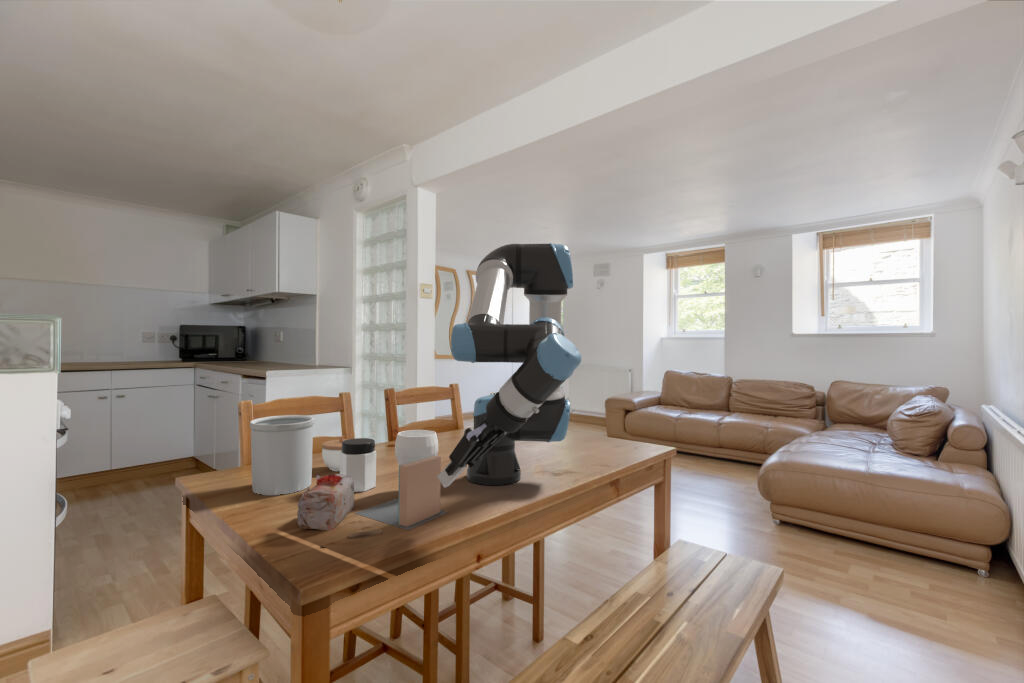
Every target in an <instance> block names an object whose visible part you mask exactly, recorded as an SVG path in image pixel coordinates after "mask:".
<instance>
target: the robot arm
mask: <svg viewBox="0 0 1024 683" xmlns="http://www.w3.org/2000/svg"><path fill="white" fill-rule="evenodd" d="M475 272H476V273H475V282H476V284H477V285H476V287H475V291H474V296H473V300H472V303H471V307H470V310H469V315H468V317H467V321H466V322H464V323H458V324H455V325H454V326H453V327H452V329H451V335H450V350H451V355H452V358H453V359H454V360H455V361H456V362H465V363H467V362H468V363H472V364H473V363H515V364H516V363H518V364H520V363H521V365H520V366H519V367H518V369H517V370H516V371H515V372H514V373H513V374H512V375H511V376H510V377H509V378H508V379H507V380H506V382H504V384H503V385H502V386H501V387H499V388H500V389H498V392H496V393H495V394H490V395H489V394H488V395H486V396H485V395H484V396H479V397H478V398H477V399H476V400H475V401H474V405H473V414H472V416H473V428H471V427H468V428H465V430H464V433H463V436H462V437H461V438H460V440H459V442H458V443H457V444H456V446H455V447H454V448H453V450H452V451H451V453H450V455H449V456H448V458H449V460H450V461H449V463H448V464H447V465H446V466H445V467H444V468H443V470H441V473H440V474H439V475H438V476H437V477H438V479H439V480H440V482H441V484H440V485H442V487H443V488H448V487H449V486H451V485H452V483H454V481H455V480H456V479H457V478H459V476H460V475H461V474H462V472H464V470H466V479H467V481H469V482H470V483H473V484H478V485H485V486H504V484H505V485H509V484H510V483H511V484H514V483H517V482H519V481H520V480H521V474H522V472H521V467H520V464H519V460H518V457H517V454H516V448H515V447H516V442H539V443H540V442H546V443H553V442H555V443H556V442H561V441H563V440H564V439H565V438H566V436H567V434H568V429H569V424H570V416H571V414H570V411H571V402H570V400H569V399H566V393H565V392H564V391H563V390H562V389H561V385H563V383H565V381H566V380H568V379H569V378H570V377H571V376H572V375H573V373H574V372H575V370H576V369H577V368H578V367H579V366H580V365H581V362H582V354H581V352H580V351H579V349H578V347H577V346H576V345H575V344H574V343H573V342H572V341H571V340H570V339H568V337H566V336H565V333H564V330H563V328H562V301H564V299H565V298H566V297H567V296H568V290H570V289H573V287H574V279H573V276H574V274H573V264H572V258H571V253H570V250H569V247H568V246H567V245H566V244H560V243H510V244H505V245H501V246H498V247H497V248H495V249H493V250H492V251H490V252H489V253H488V254H486V255H485V257H484V258H482V259H481V261H480V262H479V264H478V265H477V269H476V271H475ZM511 288H512V289H513V288H517V289H523V296H524V297H525V298H526V299H527V300H528V301H529V308H528V309H529V310H528V311H529V314H528V315H529V317H528V318H529V321H528V324H527V323H526V324H523V323H522V324H521V323H520V324H519V323H517V324H515V323H513V324H510V323H507V324H506V323H505V324H504V321H505V315H506V314H505V313H506V308H507V307H506V304H507V298H508V292H509V289H511ZM518 480H519V481H518ZM516 481H517V482H516Z"/></svg>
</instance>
